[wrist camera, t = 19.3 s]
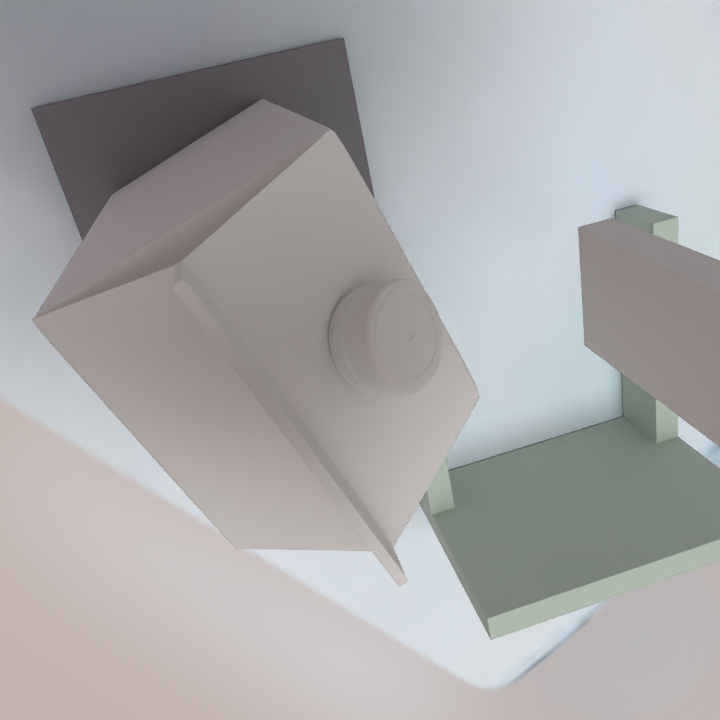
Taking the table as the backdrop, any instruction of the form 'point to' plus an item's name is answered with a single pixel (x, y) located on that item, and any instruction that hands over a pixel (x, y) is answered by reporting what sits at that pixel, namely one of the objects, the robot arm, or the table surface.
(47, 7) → the table surface
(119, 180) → the mat
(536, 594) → the rack
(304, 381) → the milk carton
